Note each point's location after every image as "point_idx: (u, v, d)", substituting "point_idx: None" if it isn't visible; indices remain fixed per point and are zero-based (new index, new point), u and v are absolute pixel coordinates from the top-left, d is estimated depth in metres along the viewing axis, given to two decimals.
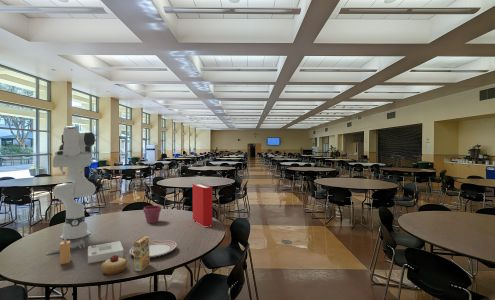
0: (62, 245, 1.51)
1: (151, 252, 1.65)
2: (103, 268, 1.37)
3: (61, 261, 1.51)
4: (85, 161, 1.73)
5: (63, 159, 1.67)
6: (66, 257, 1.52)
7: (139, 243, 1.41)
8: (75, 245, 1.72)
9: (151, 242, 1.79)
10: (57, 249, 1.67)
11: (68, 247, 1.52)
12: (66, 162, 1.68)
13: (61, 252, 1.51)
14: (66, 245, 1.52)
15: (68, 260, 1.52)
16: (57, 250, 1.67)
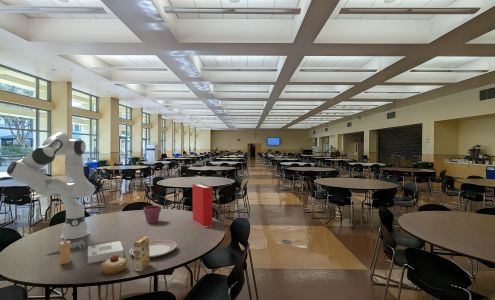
0: (62, 245, 1.51)
1: (151, 252, 1.65)
2: (103, 268, 1.37)
3: (61, 261, 1.51)
4: (58, 188, 1.49)
5: (42, 190, 1.52)
6: (66, 257, 1.52)
7: (139, 243, 1.41)
8: (75, 245, 1.72)
9: (151, 242, 1.79)
10: (57, 249, 1.67)
11: (68, 247, 1.52)
12: (47, 192, 1.53)
13: (61, 252, 1.51)
14: (66, 245, 1.52)
15: (68, 260, 1.52)
16: (57, 250, 1.66)
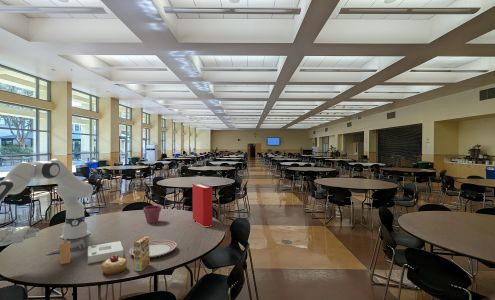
0: (62, 245, 1.51)
1: (151, 252, 1.65)
2: (103, 268, 1.37)
3: (61, 261, 1.51)
4: None
5: None
6: (66, 257, 1.52)
7: (139, 243, 1.41)
8: (75, 245, 1.72)
9: (151, 242, 1.79)
10: (57, 249, 1.67)
11: (68, 247, 1.52)
12: None
13: (61, 252, 1.51)
14: (66, 245, 1.52)
15: (68, 260, 1.52)
16: (57, 250, 1.66)
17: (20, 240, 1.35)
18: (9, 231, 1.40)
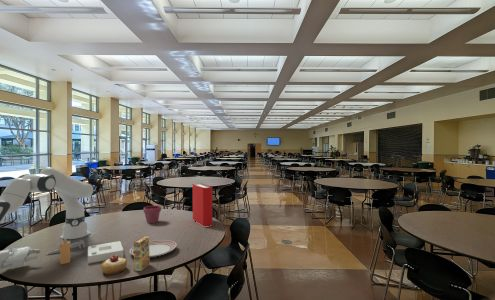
0: (62, 245, 1.51)
1: (151, 252, 1.65)
2: (103, 268, 1.37)
3: (61, 261, 1.51)
4: None
5: None
6: (66, 257, 1.52)
7: (139, 243, 1.41)
8: (75, 245, 1.72)
9: (151, 242, 1.79)
10: (57, 249, 1.67)
11: (68, 247, 1.52)
12: None
13: (61, 252, 1.51)
14: (66, 245, 1.52)
15: (68, 260, 1.52)
16: (57, 250, 1.66)
17: (21, 263, 1.36)
18: (10, 254, 1.40)
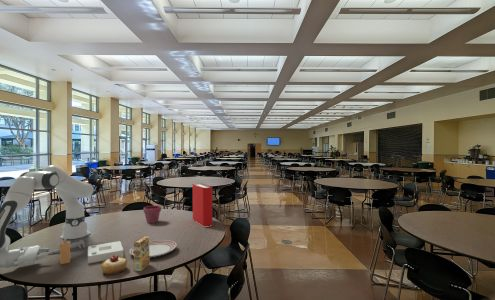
0: (62, 245, 1.51)
1: (151, 252, 1.65)
2: (103, 268, 1.37)
3: (61, 261, 1.51)
4: None
5: None
6: (66, 257, 1.52)
7: (139, 243, 1.41)
8: (75, 245, 1.72)
9: (151, 242, 1.79)
10: (57, 249, 1.67)
11: (68, 247, 1.52)
12: None
13: (61, 252, 1.51)
14: (66, 245, 1.52)
15: (68, 260, 1.52)
16: (57, 250, 1.66)
17: (32, 262, 1.38)
18: (21, 252, 1.43)
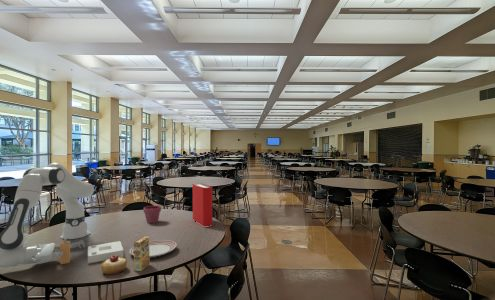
0: (62, 245, 1.51)
1: (151, 252, 1.65)
2: (103, 268, 1.37)
3: (61, 261, 1.51)
4: None
5: None
6: (66, 257, 1.52)
7: (139, 243, 1.41)
8: (75, 245, 1.72)
9: (151, 242, 1.79)
10: None
11: (68, 247, 1.52)
12: None
13: None
14: (66, 245, 1.52)
15: (68, 260, 1.52)
16: (57, 250, 1.66)
17: (49, 259, 1.42)
18: (38, 249, 1.46)
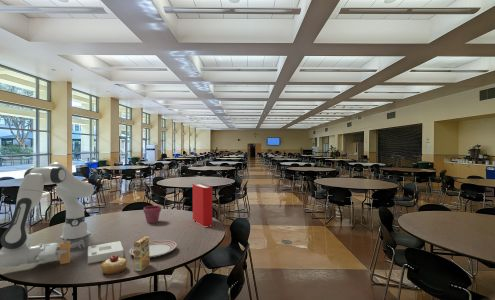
0: (62, 245, 1.51)
1: (151, 252, 1.65)
2: (103, 268, 1.37)
3: (61, 261, 1.51)
4: None
5: None
6: (66, 257, 1.52)
7: (139, 243, 1.41)
8: (75, 245, 1.72)
9: (151, 242, 1.79)
10: None
11: (68, 247, 1.52)
12: None
13: None
14: (66, 245, 1.52)
15: (68, 260, 1.52)
16: None
17: (53, 258, 1.42)
18: (41, 249, 1.47)
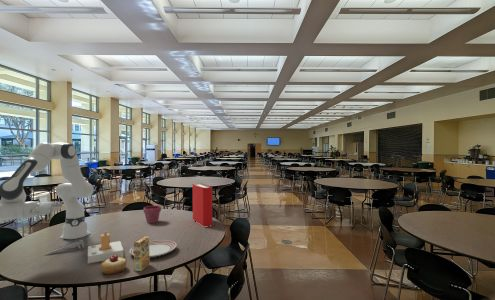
0: (103, 237, 1.61)
1: (151, 252, 1.65)
2: (103, 268, 1.37)
3: None
4: None
5: None
6: (106, 249, 1.62)
7: (139, 243, 1.41)
8: (74, 245, 1.71)
9: (151, 242, 1.79)
10: (56, 249, 1.67)
11: (108, 239, 1.62)
12: None
13: (102, 244, 1.61)
14: (106, 237, 1.62)
15: None
16: (56, 250, 1.66)
17: (47, 212, 1.47)
18: (36, 204, 1.52)
